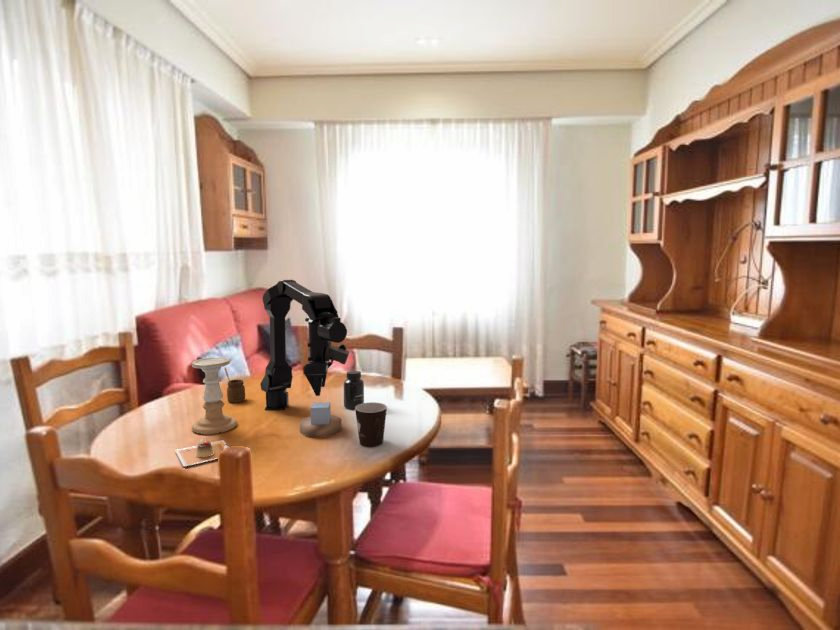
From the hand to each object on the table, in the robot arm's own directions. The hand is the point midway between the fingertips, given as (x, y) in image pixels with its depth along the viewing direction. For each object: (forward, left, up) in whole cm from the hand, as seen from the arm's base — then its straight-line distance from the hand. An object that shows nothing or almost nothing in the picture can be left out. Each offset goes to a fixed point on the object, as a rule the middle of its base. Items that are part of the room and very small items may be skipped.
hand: (320, 391), depth 138 cm
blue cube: (0, 0, -9) cm, 9 cm away
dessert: (-28, -16, -13) cm, 34 cm away
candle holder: (-32, +4, -12) cm, 34 cm away
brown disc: (0, 0, -12) cm, 12 cm away
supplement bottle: (+8, +21, -12) cm, 25 cm away
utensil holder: (-34, +30, -12) cm, 47 cm away
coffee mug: (+15, -12, -12) cm, 23 cm away
